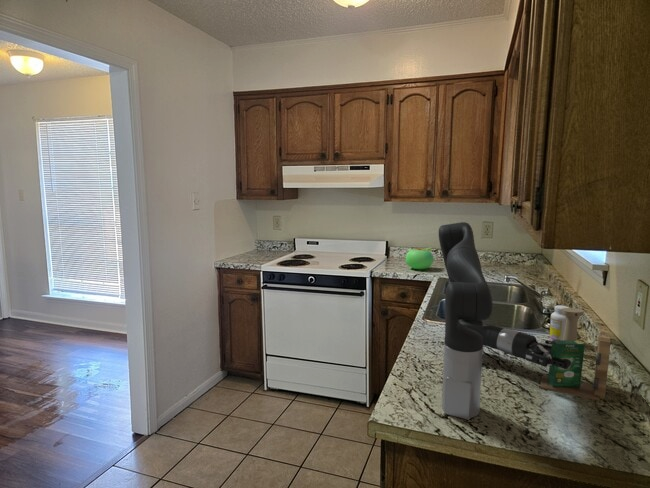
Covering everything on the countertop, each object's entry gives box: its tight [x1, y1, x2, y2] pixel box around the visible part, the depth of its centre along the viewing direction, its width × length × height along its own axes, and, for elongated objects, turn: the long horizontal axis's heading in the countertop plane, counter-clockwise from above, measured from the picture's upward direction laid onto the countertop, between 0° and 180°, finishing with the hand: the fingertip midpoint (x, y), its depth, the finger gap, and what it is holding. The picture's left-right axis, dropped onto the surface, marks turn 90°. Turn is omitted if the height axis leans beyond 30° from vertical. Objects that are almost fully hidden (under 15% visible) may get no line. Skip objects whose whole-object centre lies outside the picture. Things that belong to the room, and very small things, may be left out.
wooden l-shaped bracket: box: [540, 328, 611, 402], centre depth 117 cm, size 12×15×16 cm
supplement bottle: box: [549, 304, 570, 341], centre depth 150 cm, size 7×7×13 cm
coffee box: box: [547, 340, 586, 387], centre depth 116 cm, size 8×3×13 cm, turn 89°
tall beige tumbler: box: [561, 307, 585, 341], centre depth 139 cm, size 5×6×15 cm
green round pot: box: [405, 247, 435, 270], centre depth 273 cm, size 18×17×15 cm
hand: (574, 361), depth 114 cm, fingers open, 8 cm apart
